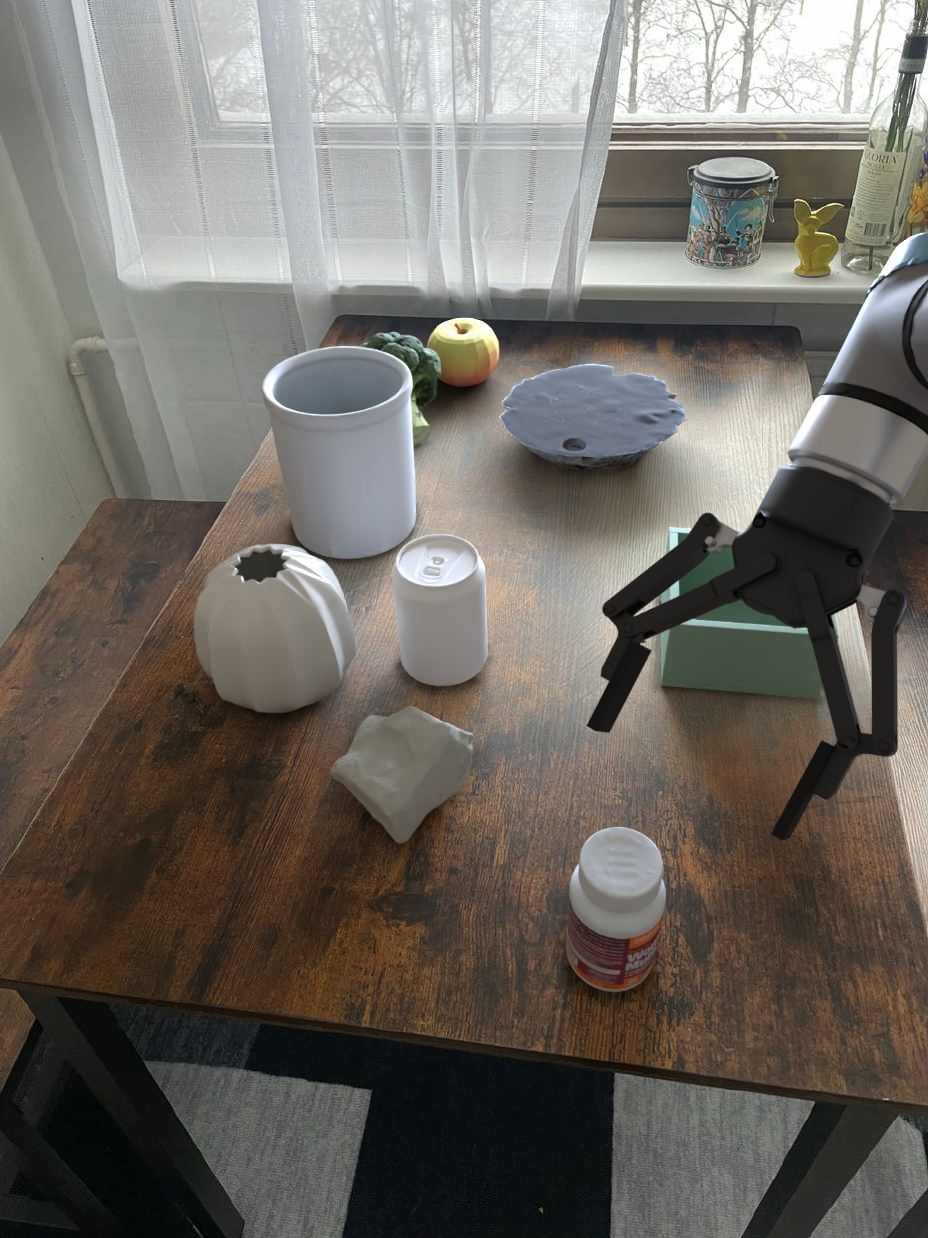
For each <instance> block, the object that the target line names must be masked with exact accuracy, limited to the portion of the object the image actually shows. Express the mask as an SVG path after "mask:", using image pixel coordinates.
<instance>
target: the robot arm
mask: <svg viewBox="0 0 928 1238" xmlns="http://www.w3.org/2000/svg"><path fill="white" fill-rule="evenodd" d="M927 455H928V231H926V232H921V233H917V234H915V235H912V236H910V237H908V238H906V239H904V241H902V242H901V243H900V244H899V245H898V246H897V247H896V248H895V249H894V251H893V252H892V254H891V256H890V257H889V259H888V261H887V262H886V264H885V266H884V267H883V269H882V271H881V272H880V274H879V275H878V277H877V278H875V280H874V281H873V282H872V284H871V285H870V287H869V290H867V293H866V295H865V297H864V301H863V305H862V307H861V309H860V310H859V313H858V315H857V317H856V319H855V321H854V323H853V325H852V326H851V329H850V331H849V332H848V335H847V337H846V339H845V341H844V343H843V344H842V347H841V349H840V350H839V353H838V355H837V357H836V359H835V360H834V362H833V365H832V366H831V368H830V370H829V373H828V375H827V376H826V379H825V381H824V383H823V384H822V386H821V389H820V390H819V392H818V393H817V396H816V397H815V399H814V401H813V403H812V405H811V406H810V409H809V410H808V412H807V415H805V418H804V420H803V422H802V424H801V426H800V427H799V429H798V431H797V433H796V435H795V437H794V438H793V441H792V443H791V445H790V446H789V448H788V450H787V456H788V459H789V460H790V462H791V464H785V465H783V466H782V467H779V468H778V470H777V472H776V474H775V476H774V478H773V480H772V481H771V483H770V484H769V487H768V489H767V491H766V493H765V495H764V497H763V498H762V500H761V503H760V505H759V506H758V508H757V511H756V512H755V514H754V517H753V519H752V521H751V522H750V524H749V525H748V526H747V527H746V528H745V529H744V530H742V531H738V532H737V530H735V529H734V528H732V527H730V526H728V525H727V524H725V523H723V522H722V521H721V520H720V519H719V518H718V517H716V515H715V514H714V513H712V512H704V513H702V514H701V515H700V516H699V517H698V519H697V520H696V522H695V523H694V525H693V526H692V527H691V529H692V530H691V531H690V533H689V534H688V536H687V537H686V539H684V540H683V541H682V542H681V543H679V544H678V545H677V546H676V547H674V548H673V549H672V550H671V551H669V552H668V553H667V554H666V553H665V554H664V555H663V556H662V557H660V558H659V559H658V560H657V561H656V562H654V563H653V564H651V565H650V566H649V567H648V568H646V569H645V570H644V571H643V572H641V573H640V574H639V575H638V576H636V577H635V578H634V579H633V580H631V581H630V582H629V583H628V584H626V585H625V586H624V587H623V588H621V589H620V590H619V591H618V592H617V593H615V594H613V596H612V597H610V598H609V599H608V600H606V601H605V602H604V604H603V605H602V607H601V611H602V612H601V613H602V614H603V615H604V616H605V617H606V618H608V619H609V620H610V622H611V623H612V624H613V625H614V627H616V630H617V636H616V639H615V641H614V642H613V645H612V646H611V648H610V651H609V652H608V655H607V656H606V659H605V661H604V662H603V664H602V667H601V668H600V677H601V678H603V679H604V680H606V681H608V683H606V687H605V688H604V690H603V692H602V694H601V696H600V698H599V700H598V702H597V704H596V705H595V708H594V709H593V712H592V714H591V716H590V718H589V720H588V722H587V723H586V727H587V728H589V729H590V730H593V731H594V732H598V733H607V734H610V733H611V731H612V729H613V728H614V725H615V723H616V721H617V719H618V717H619V715H620V713H621V711H622V709H623V708H624V705H625V703H626V702H627V700H628V698H629V697H630V694H631V693H632V690H633V689H634V686H635V684H636V683H637V680H638V679H639V676H640V674H641V672H642V671H643V669H644V667H645V664H646V663H647V660H648V659H649V657H650V655H651V653H652V651H653V650H652V649H651V648H648V647H647V646H645V645H643V644H645V643H647V641H646V640H648V639H651V638H653V637H655V636H658V635H659V634H660V635H661V633H662V632H664V631H666V630H669V629H671V628H673V627H675V626H678V625H680V624H682V623H685V622H687V621H689V620H691V619H694V618H696V617H698V616H700V615H703V614H705V613H707V612H709V611H712V610H714V609H716V608H718V607H721V606H723V605H726V604H731V603H734V602H736V601H739V600H741V599H742V601H743V602H744V603H745V605H747V606H748V607H750V608H751V609H753V610H755V611H757V612H760V613H762V614H767V615H773V616H775V617H776V618H777V619H778V620H780V621H781V622H782V623H784V624H786V625H788V626H790V627H792V628H794V629H796V628H806V627H807V630H808V634H809V637H810V640H811V642H812V645H813V649H814V653H815V657H816V661H817V665H818V669H819V673H820V676H821V680H822V684H823V685H822V688H823V693H824V696H825V698H826V704H827V707H828V711H829V715H830V719H831V724H832V726H833V731H834V733H835V734H834V735H835V740H836V741H835V743H833V742H830V741H828V740H823V739H820V741H819V743H818V745H817V747H816V749H815V751H814V753H813V754H812V756H811V758H810V760H809V761H808V763H807V765H806V767H805V769H804V771H803V773H802V775H801V777H800V778H799V781H798V782H797V784H796V786H795V787H794V789H793V791H792V793H791V795H790V797H789V799H788V800H787V802H786V804H785V806H784V808H783V809H782V812H781V813H780V815H779V817H778V819H777V821H776V822H775V824H774V826H773V828H772V830H771V832H770V835H771V836H773V837H774V838H775V839H777V840H779V841H781V842H783V841H786V840H789V839H791V837H792V836H793V834H794V832H795V830H796V829H797V827H798V825H799V823H800V821H801V819H802V817H803V815H804V814H805V812H806V810H807V808H808V806H809V804H810V803H811V801H812V799H813V797H814V795H815V796H817V797H819V798H821V799H823V800H824V801H829V800H830V799H832V798H833V797H834V796H835V795H836V794H837V793H838V791H839V789H840V787H841V786H842V784H843V782H844V779H845V778H846V777H847V774H848V773H849V771H850V769H851V767H852V765H853V763H854V762H855V760H856V759H857V758H858V757H859V756H860V757H861V756H862V755H872V756H878V757H883V758H890V757H893V756H894V755H896V754H897V752H898V748H899V727H898V726H899V717H898V714H899V713H898V711H899V709H898V705H899V704H898V633H899V631H900V628H901V626H902V624H903V621H904V617H905V615H906V613H907V610H908V607H909V606H908V602H907V599H906V598H905V596H904V594H903V593H902V592H901V591H900V590H898V589H889V590H883V589H880V588H876V587H873V586H869V585H866V584H864V577H865V572H866V570H867V568H868V566H869V564H870V562H871V560H872V558H873V557H874V555H875V553H876V551H877V549H878V547H879V546H880V543H881V541H882V540H883V538H884V536H885V534H886V533H887V531H888V529H889V527H890V525H891V522H892V521H893V519H894V513H893V509H892V507H891V506H890V505H892V504H897V503H900V502H902V501H903V500H904V499H905V498H906V494H907V493H908V491H909V490H910V487H911V485H912V484H913V482H914V480H915V478H916V476H917V474H918V472H919V470H920V469H921V467H922V465H923V463H924V461H925V459H926V457H927ZM739 532H741V533H739ZM727 547H732V555H733V561H734V569H732V570H730V571H727V572H725V573H723V574H721V575H719V576H716V577H714V578H713V579H711V580H710V581H709V582H708V583H706V584H704V585H702V586H700V587H697V588H695V589H693V590H691V591H689V592H686V593H684V594H682V595H680V596H678V597H675V598H673V599H671V600H669V601H667V602H665V603H662V604H661V603H660V604H658V605H656V606H654V607H652V608H650V609H647V610H645V611H642V612H640V611H641V610H643V609H644V608H645V607H646V606H648V605H650V603H652V602H653V601H654V600H656V599H657V598H658V597H659V596H661V594H662V593H663V592H664V591H666V590H667V589H668V588H670V587H671V586H672V585H673V584H675V583H676V582H677V581H679V580H680V579H681V578H682V577H684V576H685V575H686V574H688V573H689V572H690V571H691V570H693V569H694V568H695V567H697V566H698V565H699V564H700V563H702V562H703V561H704V560H705V559H706V558H707V557H708V556H709V555H710V553H711V554H718V553H720V552H721V551H722V550H723V549H725V548H727ZM857 602H858V603H860V604H862V606H863V607H864V608H863V616H864V618H865V619H866V621H867V622H868V623H869V624H871V625H872V626H871V634H870V635H871V636H870V641H871V642H870V646H871V649H870V651H871V653H870V657H871V660H870V661H871V662H870V664H871V667H870V670H871V671H870V673H871V677H870V678H871V683H870V684H871V733H866V732H862V729H861V726H860V722H859V718H858V714H857V710H856V706H855V702H854V699H853V695H852V691H851V687H850V683H849V679H848V676H847V673H846V669H845V664H844V661H843V658H842V654H841V653H842V652H841V650H840V646H839V640H838V639H839V638H838V639H837V635H836V631H835V627H834V623H833V619H832V615H834V616H835V614H837V613H839V612H841V611H843V610H845V609H848V608H849V607H851V606H854V605H856V603H857ZM639 612H640V613H639ZM638 613H639V614H638ZM636 614H637V615H636Z"/></svg>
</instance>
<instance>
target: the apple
mask: <svg viewBox="0 0 928 1238" xmlns="http://www.w3.org/2000/svg"><path fill="white" fill-rule="evenodd" d="M499 345H500V344H499V340H498V338H497V336H496V334H495V332H494V331H493V328H492V327H490V326H489V325H488V324H487V323H486V322H484V321H482V320H479V319H475V318H470V317H459V318H453V319H450V320H447V321H444V322H442V323H440V324H439V325H437V326H436V328H435V329H434V330H433V331H432V332H431V334H430V335H429V338H428V340H427V345H426V346H427V347H426V348H429V349H431V350H433V351H435V352H436V353H437V355H438V357H439V358H440V363H441V375H440V377H439V380H440V381H441V382H444V383H445V384H448V385H450V386H454V387H459V388H461V387H462V388H463V387H464V388H465V387H471V386H475V385H477V384H478V385H479V384H480V383H482V382H484V381H485V380H487V378H489V377H490V375H492V374H493V373H494V370H495V369H496V366H497V364H498V362H499V358H500V346H499Z"/></svg>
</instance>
